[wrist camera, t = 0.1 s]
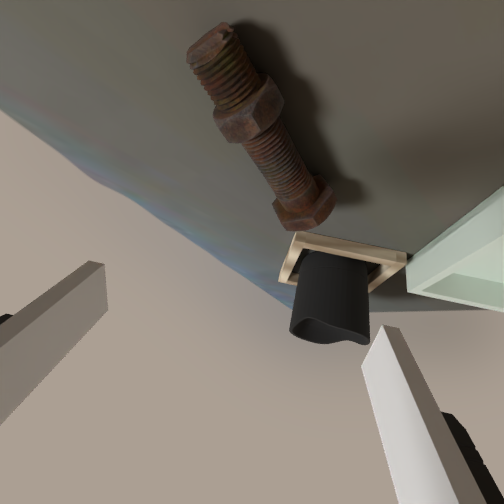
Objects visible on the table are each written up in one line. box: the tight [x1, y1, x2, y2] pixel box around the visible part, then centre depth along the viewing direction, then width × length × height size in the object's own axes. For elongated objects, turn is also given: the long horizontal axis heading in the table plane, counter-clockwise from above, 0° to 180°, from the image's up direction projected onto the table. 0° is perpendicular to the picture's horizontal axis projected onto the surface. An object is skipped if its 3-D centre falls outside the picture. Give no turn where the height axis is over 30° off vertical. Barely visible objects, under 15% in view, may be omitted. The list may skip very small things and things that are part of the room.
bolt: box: [186, 22, 337, 231], centre depth 21 cm, size 6×5×15 cm
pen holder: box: [289, 251, 370, 345], centre depth 37 cm, size 9×9×10 cm
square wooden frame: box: [278, 231, 407, 293], centre depth 39 cm, size 13×13×2 cm
